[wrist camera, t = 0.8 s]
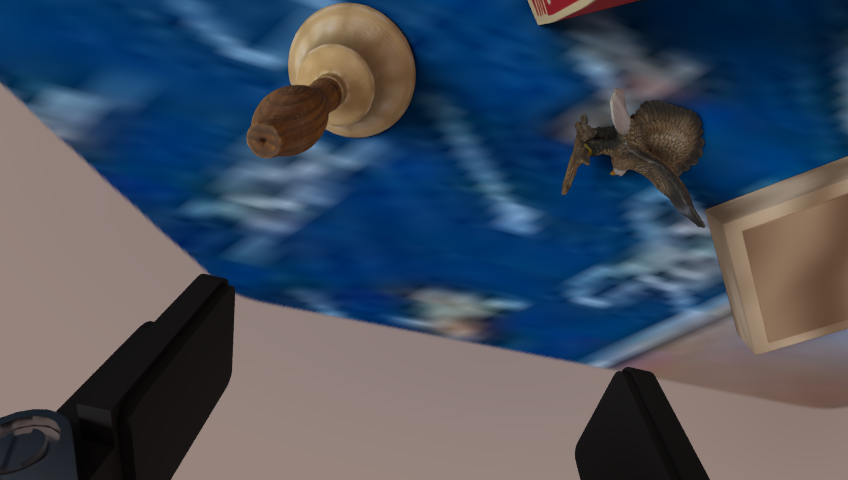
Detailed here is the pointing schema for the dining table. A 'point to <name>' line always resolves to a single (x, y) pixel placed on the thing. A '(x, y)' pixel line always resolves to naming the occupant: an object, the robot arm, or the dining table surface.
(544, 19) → the milk carton
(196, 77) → the dining table surface
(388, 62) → the hand bell
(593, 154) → the brown bird figurine
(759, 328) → the tan wooden tray
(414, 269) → the dining table surface
